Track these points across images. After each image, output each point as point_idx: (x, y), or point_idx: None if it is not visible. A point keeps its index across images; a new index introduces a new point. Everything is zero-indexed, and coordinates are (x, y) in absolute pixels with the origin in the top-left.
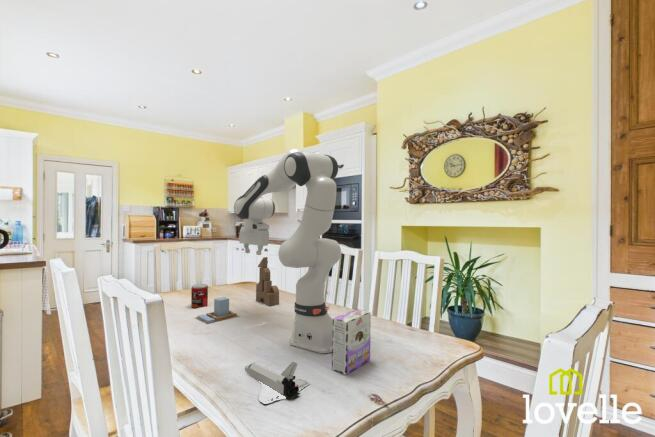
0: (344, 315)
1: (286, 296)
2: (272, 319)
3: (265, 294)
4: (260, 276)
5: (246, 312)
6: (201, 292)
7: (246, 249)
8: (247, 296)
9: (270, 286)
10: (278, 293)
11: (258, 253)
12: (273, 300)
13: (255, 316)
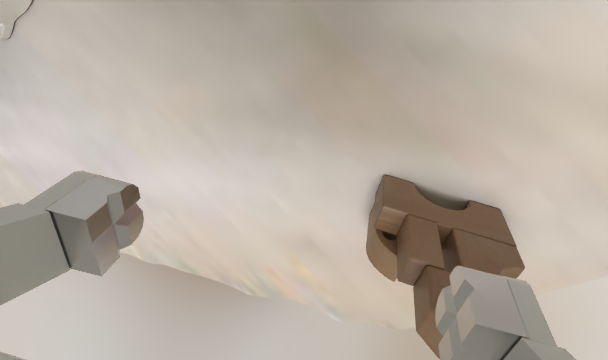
0: None
1: None
2: (235, 36)
3: (418, 212)
4: None
5: (413, 43)
6: None
7: (519, 351)
8: (601, 251)
9: (399, 252)
10: (367, 244)
11: (64, 185)
12: (375, 204)
13: (327, 21)
